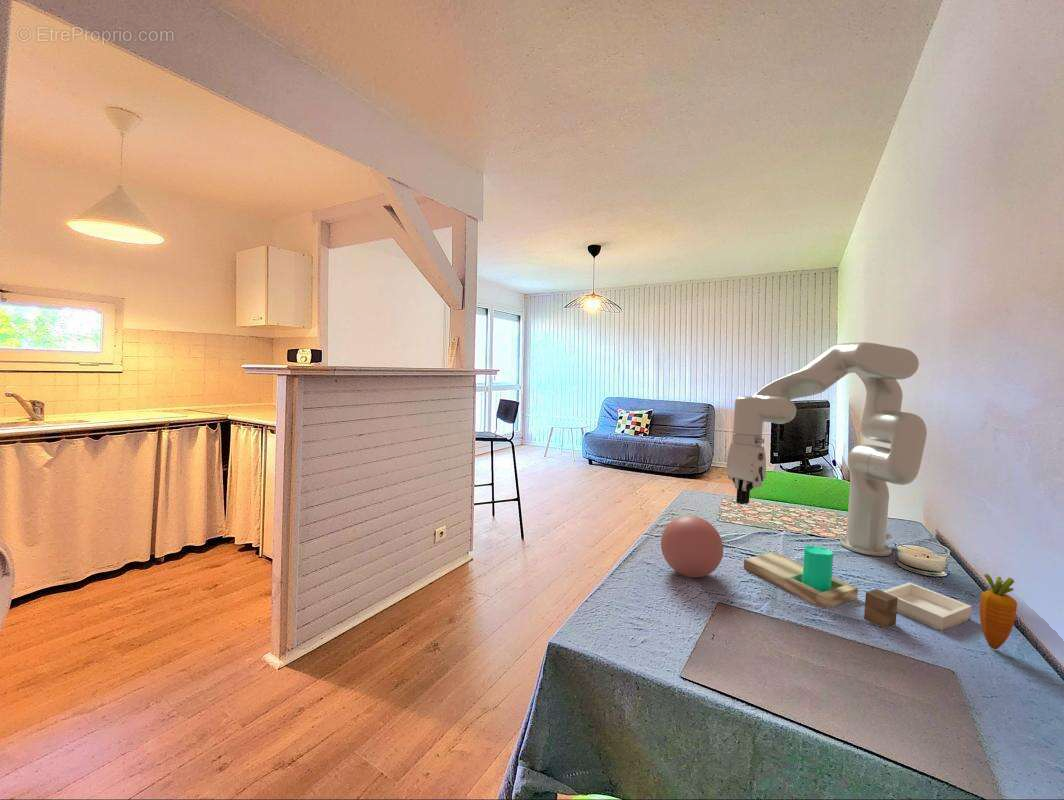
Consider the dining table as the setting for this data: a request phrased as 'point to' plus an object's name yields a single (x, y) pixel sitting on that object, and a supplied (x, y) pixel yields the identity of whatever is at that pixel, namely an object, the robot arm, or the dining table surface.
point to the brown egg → (692, 546)
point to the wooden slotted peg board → (798, 580)
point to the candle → (817, 567)
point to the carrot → (997, 611)
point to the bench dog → (880, 608)
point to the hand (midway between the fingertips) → (742, 503)
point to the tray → (929, 606)
